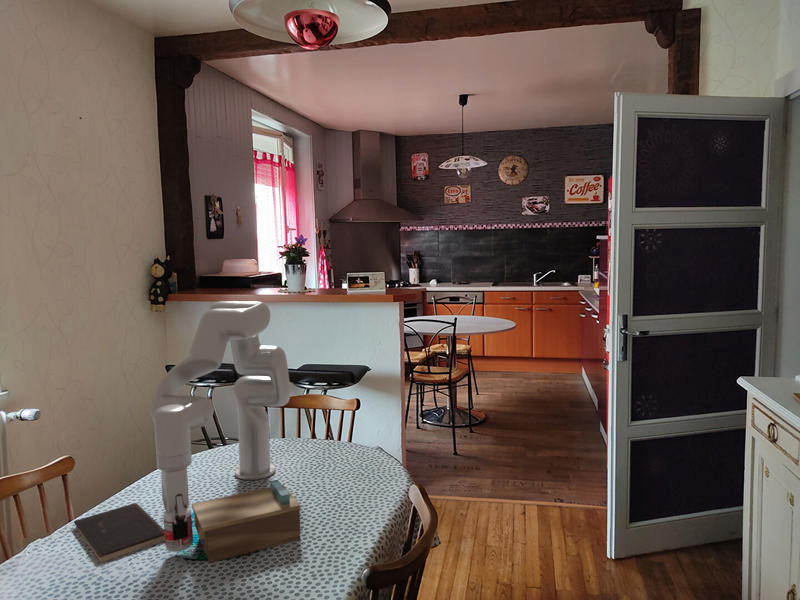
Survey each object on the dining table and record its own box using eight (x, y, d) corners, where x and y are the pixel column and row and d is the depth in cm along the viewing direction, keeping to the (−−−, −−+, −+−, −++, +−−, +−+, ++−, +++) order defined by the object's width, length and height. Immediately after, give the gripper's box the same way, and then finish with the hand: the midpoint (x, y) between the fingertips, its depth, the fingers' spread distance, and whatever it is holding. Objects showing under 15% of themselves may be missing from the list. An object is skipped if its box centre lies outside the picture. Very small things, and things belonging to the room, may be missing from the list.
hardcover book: (99, 565, 133) (99, 556, 133) (74, 529, 150) (73, 521, 150) (169, 541, 144) (168, 532, 144) (138, 510, 161) (137, 502, 161)
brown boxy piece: (199, 538, 144) (197, 507, 143) (284, 517, 155) (283, 489, 154) (208, 563, 133) (207, 530, 132) (300, 539, 143) (299, 508, 143)
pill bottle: (191, 536, 140) (189, 493, 139) (194, 548, 135) (192, 503, 134) (164, 542, 138) (161, 498, 136) (166, 555, 132) (163, 509, 131)
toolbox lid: (192, 519, 144) (191, 493, 143) (283, 499, 155) (282, 475, 154) (202, 545, 131) (201, 517, 131) (300, 521, 142) (299, 495, 142)
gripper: (152, 449, 139) (157, 519, 142) (161, 475, 124) (166, 553, 127) (185, 443, 143) (189, 512, 145) (197, 468, 128) (201, 544, 130)
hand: (178, 530), depth 136 cm, fingers closed on pill bottle, 6 cm apart
